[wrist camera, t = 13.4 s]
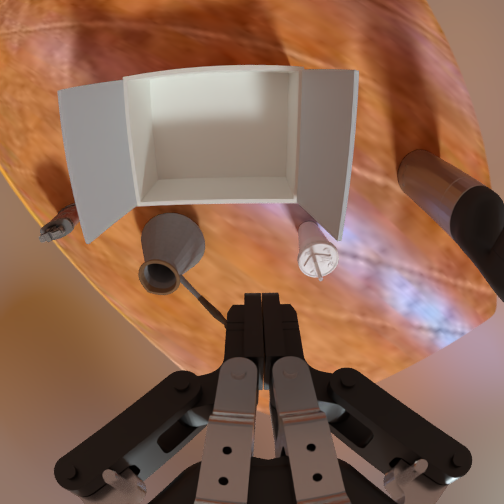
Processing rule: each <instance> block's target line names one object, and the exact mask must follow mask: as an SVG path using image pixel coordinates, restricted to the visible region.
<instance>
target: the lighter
mask: <svg viewBox="0 0 504 504" xmlns="http://www.w3.org/2000/svg"><path fill="white" fill-rule="evenodd" d="M79 221H80V220H79V216H78V212H77V208H76V204H75V203H72V204H70V205H68V206H66V207H65V208H63V209H62V210H61V211H59V213H58V215H57V216H55V217H54V218H53V219H52V220H51V221H50V222H49V223H47V224H46V225H45V226H43V227H42V228H41V230H40V233H41V236H40V237H39V240H40V242H45V241H47V242H50V241H52V240H56V239H59V238H62V237H64V236H66V235H67V234H69V233H70V232H71V231H72V230H73V229H74V226H75V225H76V224H77V223H78V222H79Z"/></svg>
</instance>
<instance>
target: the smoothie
mask: <svg viewBox="0 0 504 504" xmlns="http://www.w3.org/2000/svg"><path fill="white" fill-rule="evenodd" d="M298 239H299V254H298V259H297V261H298V265H299V268H300V270H301V271H302V272H303V273H304V274H305V275H307V276H310V277H318V278H319V281H322V280H323V278H322V276H325V275H327V274H329V273H331V272H332V271H333V270H334V269H335V267H336V266H337V264H338V260H339V256H338V252H337V249H336V247H335V246H334V245H333V244H332V243H331V242H329V241H328V239H327V238H326V237H325V235H324V234H323V233H322V231H321V230H320V228H319V227H318V226H317V224H315V223H314V222H311V221H307V222H304V223H302V224H301V225H300V227H299V229H298Z"/></svg>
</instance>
